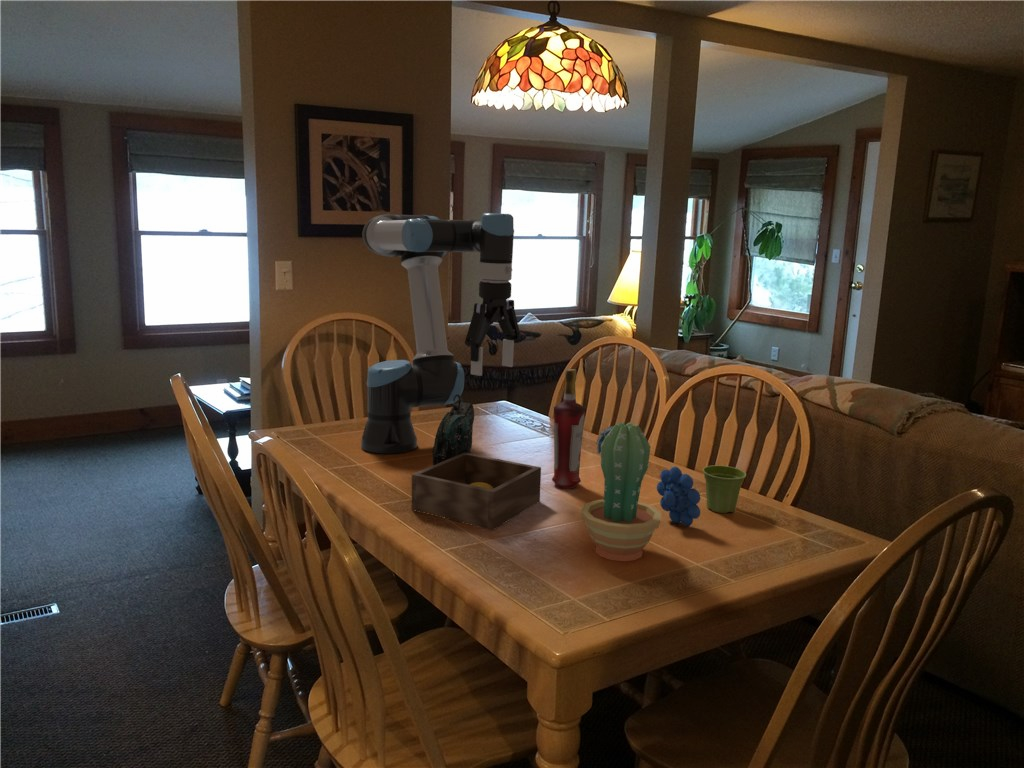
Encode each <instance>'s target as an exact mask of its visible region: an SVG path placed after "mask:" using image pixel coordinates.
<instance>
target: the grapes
mask: <svg viewBox="0 0 1024 768" xmlns="http://www.w3.org/2000/svg"><path fill="white" fill-rule="evenodd" d="M659 476H660V477H659V478H660V480H661V481H658V482H657V485H656V491H657V493H658V494H659V495H660V496H661V499H660V501H659V504H660V508H661V509H662V510H664V511H665V512H669V513H668V516H669V518H670V521H672V522H673V523H674V524H680V523H681V524H682V525H683V526H685V527H691V526H692V525H693V523H694V520H695V519H696V520H697V519H699V517H700V516H701V509H700V507H699V506H698V504H699V503H700V502H701V494H700V492H699V491H698V490H697V489H696V488H693V486H694V480H693V478H692V477H691V475H689V474H687V473H683V472H682V470H681V469H680V468H679V467H678V466H672V467H671V468H670V469H669V470H668V469H663V470H662V471H660V475H659Z"/></svg>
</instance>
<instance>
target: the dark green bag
mask: <svg viewBox="0 0 1024 768" xmlns="http://www.w3.org/2000/svg"><path fill="white" fill-rule="evenodd" d="M456 396H458V401H456V402H455V403H452V404H450V406H451V408H450V411H448V412H447V413H445V415H444V416H443V417H442V419H441V421H440V423H439V425H438V427H437V430H436V433H435V437H434V443H433V450H432V466H433V465H436V464H438V463H440V462H443V461H445V460H447V459H450V458H452V457H455V456H457V455H459V454H462V453H464V452H465V453H470V454H472V446H473V425H474V421H475V409H474V404H472V403H469V402H465V401H464V399H463V398H462V396H459V395H458V394H455V395H454V396H453V401H455V398H456Z"/></svg>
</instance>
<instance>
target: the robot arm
mask: <svg viewBox="0 0 1024 768" xmlns="http://www.w3.org/2000/svg"><path fill="white" fill-rule="evenodd" d="M514 228H515V227H514V216H513V215H512V214H510V213H500V212H499V213H496V212H495V213H493V212H484V213H483V214H482V215H481V219H480V220H479V219H464V220H463V219H440V218H438V217H437V216H435V215H426V214H420V215H419V214H391V213H386V214H380V215H377V216H373V217H372V218H370V219H368V221H367V222H366V223H365V224H364V227H363V228H362V233H361V236H362V241H363V243H364V245H365V246H366V248H367V249H368V250H369V251H371V252H372V253H374V254H376V255H380V256H383V257H391V258H395V257H396V258H400V264H401V266H402V267H403V268H405V269H406V270H407V278H408V286H409V296H410V303H411V305H410V306H411V311H412V320H413V322H412V323H413V330H414V331H413V332H414V338H415V339H414V340H415V349H416V353H415V356H413V358H412V364H411V362H410V361H409V360H406V359H397V360H396V359H391V360H385V361H381V362H378V363H377V362H376V363H375V364H373V365H371V366H370V367H369V369H367V380H366V386H367V389H366V390H367V392H366V393H367V395H366V396H367V397H366V398H367V399H366V400H367V401H366V402H367V406H366V407H367V420H366V424H365V427H364V430H363V434H362V436H361V439H360V441H361V442H360V446H361V449H362V450H364V451H365V452H368V453H369V452H370V453H372V454H373V453H374V454H385V455H386V454H389V455H390V454H391V455H393V454H403V453H407V452H410V451H413V450H415V449H417V447H418V438H417V435H416V433H415V429H414V425H413V422H412V419H411V418H412V417H411V414H412V413H411V410H412V408H421V407H434V406H435V407H436V406H446V405H451V404H455V403H457V402H459V399H458V396H456V398H455V401H453V396H454V395H455V394H458V395H459V396H460V397H462V394H463V391H464V387H465V371H464V368H463V365H462V364H461V363H460V362H457V361H455V357H454V354H453V353H452V352H450V351H449V350H448V343H447V334H446V333H447V331H446V326H445V325H446V323H445V317H444V316H445V315H444V308H443V299H442V293H441V283H440V276H439V266H440V265H441V264H442V262H443V257H444V256H446V254H447V253H478V254H479V274H478V275H479V276H478V277H479V278H478V279H480V280H481V281H480V282H478V297H480V298H482V303H474V305H473V312H472V316H471V320H470V323H469V327H468V330H467V333H466V337H465V340H464V345H465V346H467V347H470V375H473V376H479V377H481V376H483V358H484V357H483V355H484V354H483V353H484V347H482V344H483V342H484V340H485V338H486V336H487V333H488V331H489V329H490V327H491V325H492V324H494V323H495V322H497V323H498V325H499V327H500V330H501V331H502V333H503V336H504V339H502V351H501V355H502V357H501V360H502V361H501V366H503V367H509V368H512V367H514V350H515V341H519V336H520V335H521V332H520V327H519V323H518V318H517V315H516V310H515V300H513V299H510V298H511V297H512V283H511V282H509V281H511V280H512V274H513V267H512V266H513V257H514V256H513V253H514V252H513V250H514V235H515V229H514Z"/></svg>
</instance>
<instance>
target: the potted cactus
mask: <svg viewBox="0 0 1024 768" xmlns="http://www.w3.org/2000/svg"><path fill="white" fill-rule="evenodd" d="M595 444H596V445H597V446H596V447H597V450H596V451H597V454H598V455H600V467H601V471H602V475H603V478H604V479H603V480H604V485H603V486H604V487H603V490H604V491H603V499H595V500H593V501H590V502H587V503H585V504H584V503H583V506H582V508H581V510H580V514H581V519H582V520H583V521H584V522H585V525H586V527H587V530H588V535H589V536H590V537H591V539H592V540H593V542H594V543H595V545H596V550H595V552H596V553H597V554H598V555H599V556H600V557H602V558H605V559H607V560H610V561H616V562H617V561H618V562H629V561H630V562H631V561H636V560H638V559H640V558H642V557H643V552H644V551H643V549H644V548H645V547H646V546H647V544H648V543H650V541H651V539H652V536H653V534H654V532H655V529H658V528H659V527H660V523H661V520H662V515H663V513H662V512H661V511H660V510H658V508H656V507H655V506H654V505H651V504H647V503H644V502H641V501H639V499H640V493H641V489H642V488H641V487H642V482H643V480H644V477H645V476H646V473H647V471H648V468H649V461H650V454H651V445H650V442H649V440H648V439H647V436H646V435H645V434H644V433H643V431H642V428H641V427H640V426H639V424H633V422H627V423H626V424H625V423H623V422H621V421H619V422H618V423H615V425H612V426H608V427H607V428H604V429H603V430H602V431H601V432H600V433H599V436H598V437H597V439H596V443H595Z"/></svg>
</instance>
